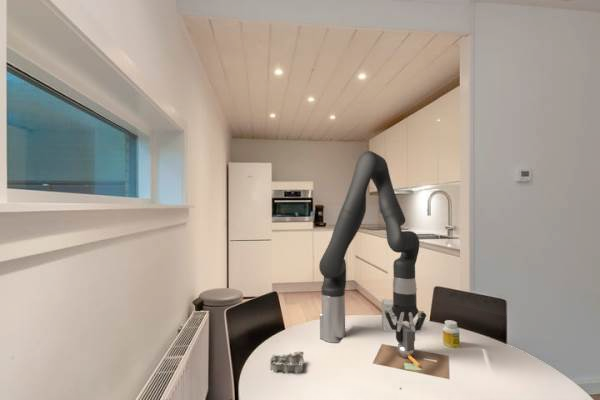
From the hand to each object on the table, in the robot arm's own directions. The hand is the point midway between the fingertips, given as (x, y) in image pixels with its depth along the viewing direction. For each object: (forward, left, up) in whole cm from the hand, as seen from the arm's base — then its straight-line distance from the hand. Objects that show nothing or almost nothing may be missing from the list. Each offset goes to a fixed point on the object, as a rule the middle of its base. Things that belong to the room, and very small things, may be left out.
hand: (405, 341), depth 103 cm
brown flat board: (+2, -2, -6) cm, 7 cm away
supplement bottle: (+14, +16, -6) cm, 22 cm away
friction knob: (+1, -2, -4) cm, 5 cm away
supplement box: (-8, +23, -6) cm, 25 cm away
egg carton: (-34, -21, -6) cm, 40 cm away
